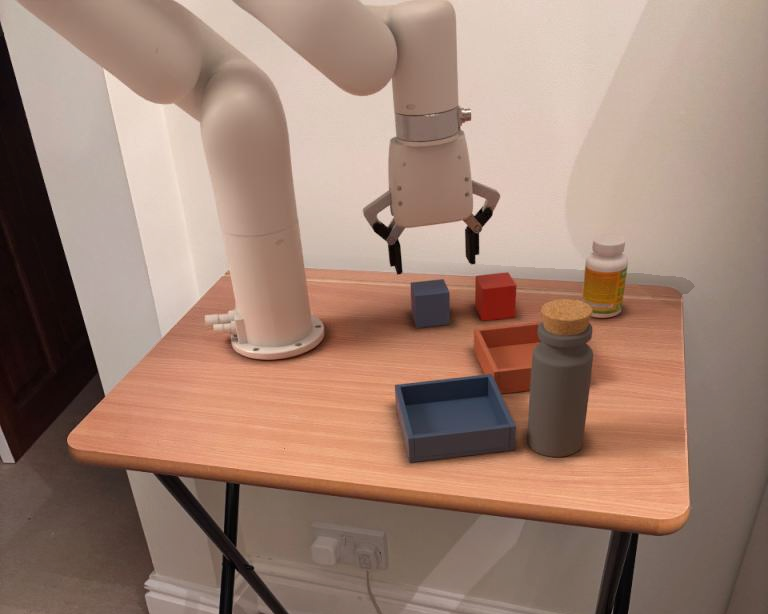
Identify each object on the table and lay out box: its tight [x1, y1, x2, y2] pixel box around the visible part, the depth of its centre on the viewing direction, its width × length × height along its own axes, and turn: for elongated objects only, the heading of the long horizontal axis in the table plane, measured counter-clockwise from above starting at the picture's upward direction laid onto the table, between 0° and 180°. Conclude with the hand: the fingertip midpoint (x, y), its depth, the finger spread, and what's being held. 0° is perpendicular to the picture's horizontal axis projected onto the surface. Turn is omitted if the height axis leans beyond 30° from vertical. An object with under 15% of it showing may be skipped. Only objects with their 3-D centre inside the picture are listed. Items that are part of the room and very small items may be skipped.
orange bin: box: [473, 321, 542, 395], centre depth 94 cm, size 11×11×3 cm
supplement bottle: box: [580, 233, 629, 319], centre depth 103 cm, size 5×5×10 cm
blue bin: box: [394, 374, 517, 463], centre depth 85 cm, size 11×11×3 cm
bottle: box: [526, 298, 594, 458], centre depth 77 cm, size 6×6×15 cm
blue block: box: [409, 278, 451, 329], centre depth 105 cm, size 5×5×5 cm
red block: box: [474, 271, 517, 322], centre depth 106 cm, size 5×5×5 cm
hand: (434, 265), depth 102 cm, fingers open, 9 cm apart
